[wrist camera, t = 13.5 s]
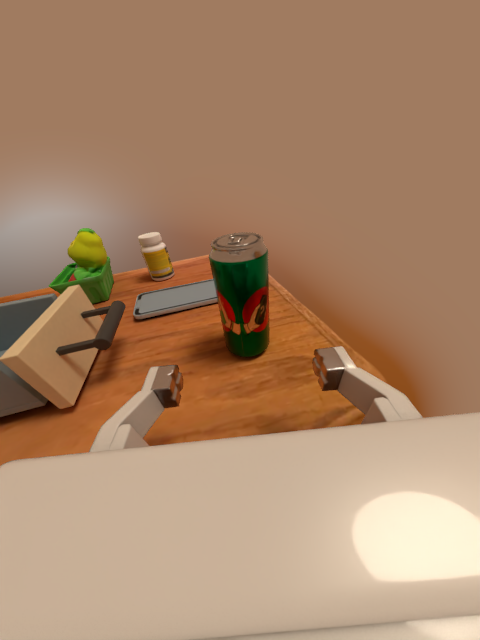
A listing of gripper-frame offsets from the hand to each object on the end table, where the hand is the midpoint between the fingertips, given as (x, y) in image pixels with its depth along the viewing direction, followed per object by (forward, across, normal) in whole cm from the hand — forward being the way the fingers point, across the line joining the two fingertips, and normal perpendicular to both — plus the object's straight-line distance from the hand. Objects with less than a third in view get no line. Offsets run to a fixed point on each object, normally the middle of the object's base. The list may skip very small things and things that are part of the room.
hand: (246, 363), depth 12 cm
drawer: (+8, -22, -6) cm, 24 cm away
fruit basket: (+28, -27, -8) cm, 40 cm away
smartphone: (+22, -9, -7) cm, 25 cm away
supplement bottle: (+32, -16, -8) cm, 37 cm away
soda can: (+9, 0, -8) cm, 12 cm away
